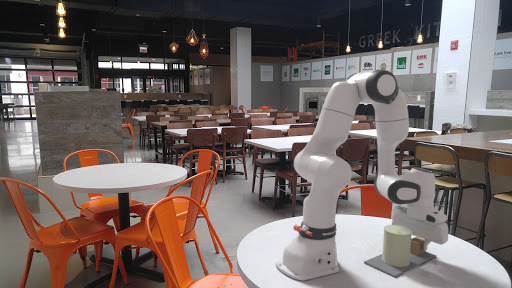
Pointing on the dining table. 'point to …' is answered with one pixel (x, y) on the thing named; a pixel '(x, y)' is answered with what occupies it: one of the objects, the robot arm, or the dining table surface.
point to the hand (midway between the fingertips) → (417, 247)
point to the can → (396, 245)
